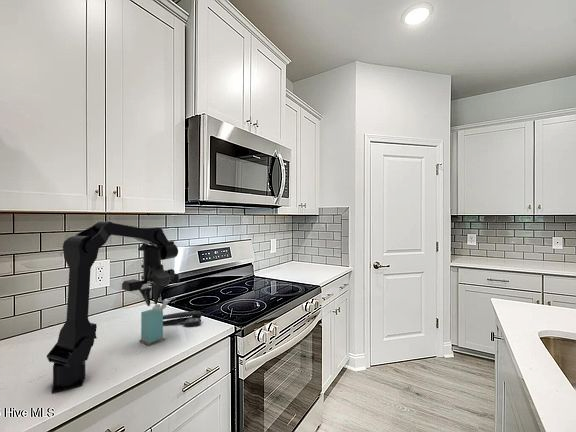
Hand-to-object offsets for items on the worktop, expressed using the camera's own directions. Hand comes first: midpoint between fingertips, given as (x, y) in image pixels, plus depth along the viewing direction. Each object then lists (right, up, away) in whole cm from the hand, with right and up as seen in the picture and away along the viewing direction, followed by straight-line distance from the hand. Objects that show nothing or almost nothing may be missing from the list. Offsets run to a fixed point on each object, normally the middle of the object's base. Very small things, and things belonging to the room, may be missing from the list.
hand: (152, 304), depth 105 cm
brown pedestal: (0, -13, 0) cm, 13 cm away
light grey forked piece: (-8, -13, +25) cm, 29 cm away
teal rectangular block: (0, -12, 0) cm, 12 cm away
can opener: (+4, -13, +16) cm, 21 cm away
